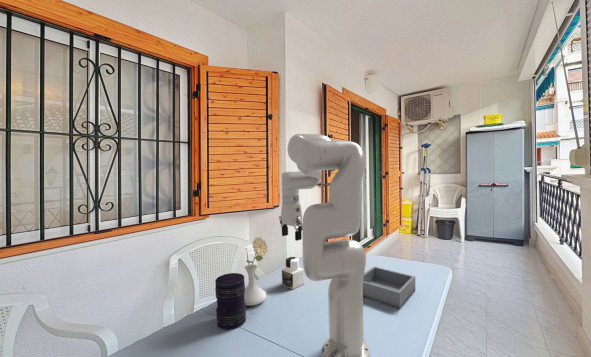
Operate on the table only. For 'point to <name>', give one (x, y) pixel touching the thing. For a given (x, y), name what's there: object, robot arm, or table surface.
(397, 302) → the bin
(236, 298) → the dark blue cylinder
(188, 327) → the table surface
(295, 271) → the medicine bottle
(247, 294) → the flower in vase
